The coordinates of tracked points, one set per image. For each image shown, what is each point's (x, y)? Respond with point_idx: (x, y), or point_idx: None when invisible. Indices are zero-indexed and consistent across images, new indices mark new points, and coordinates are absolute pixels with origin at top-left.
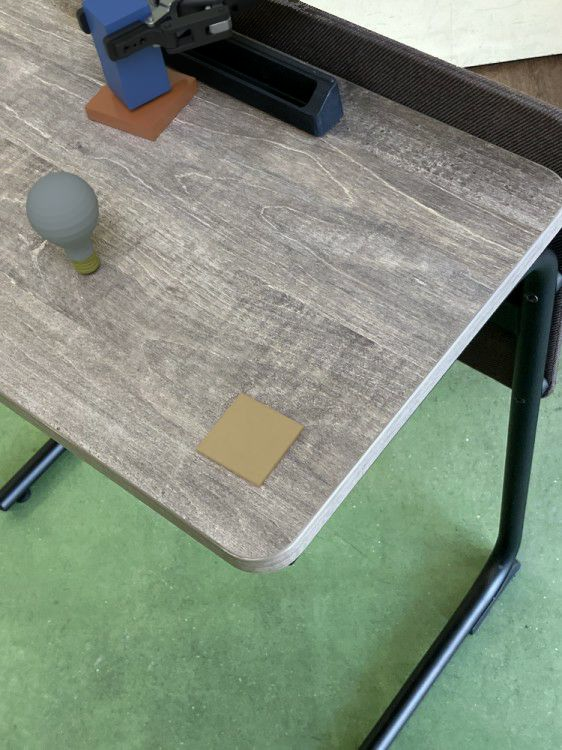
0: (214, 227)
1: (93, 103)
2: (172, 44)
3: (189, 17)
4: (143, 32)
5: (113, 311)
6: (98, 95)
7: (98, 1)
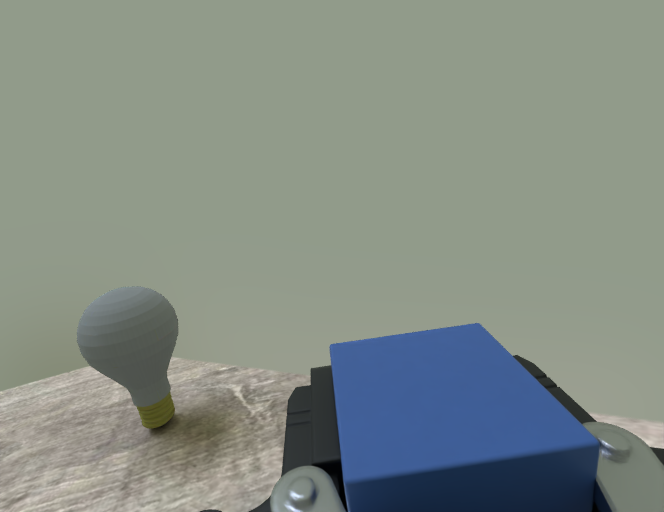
0: None
1: None
2: None
3: None
4: (286, 467)
5: (89, 430)
6: None
7: (464, 349)
